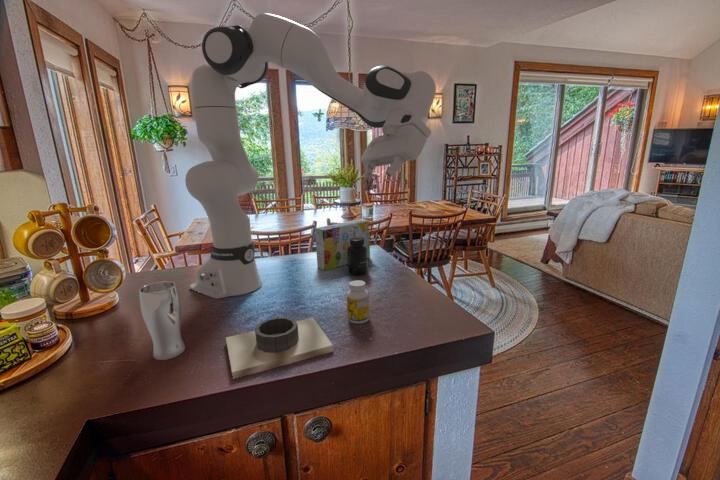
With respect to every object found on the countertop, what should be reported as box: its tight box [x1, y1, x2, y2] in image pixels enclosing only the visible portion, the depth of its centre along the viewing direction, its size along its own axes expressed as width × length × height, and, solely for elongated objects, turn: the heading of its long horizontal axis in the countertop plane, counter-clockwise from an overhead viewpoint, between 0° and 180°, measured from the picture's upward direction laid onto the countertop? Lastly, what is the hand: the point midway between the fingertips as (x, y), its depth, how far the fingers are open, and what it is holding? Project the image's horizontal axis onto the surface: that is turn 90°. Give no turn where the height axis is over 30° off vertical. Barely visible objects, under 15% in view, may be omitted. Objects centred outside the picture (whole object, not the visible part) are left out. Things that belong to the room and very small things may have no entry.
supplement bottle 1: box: [347, 237, 368, 276], centre depth 118 cm, size 7×7×12 cm
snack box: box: [314, 218, 371, 272], centre depth 128 cm, size 21×6×15 cm, turn 130°
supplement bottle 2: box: [346, 279, 370, 325], centre depth 85 cm, size 5×5×10 cm
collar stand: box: [225, 316, 334, 380], centre depth 74 cm, size 20×14×5 cm
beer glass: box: [138, 280, 186, 361], centre depth 72 cm, size 7×7×15 cm
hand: (377, 176), depth 85 cm, fingers open, 8 cm apart
